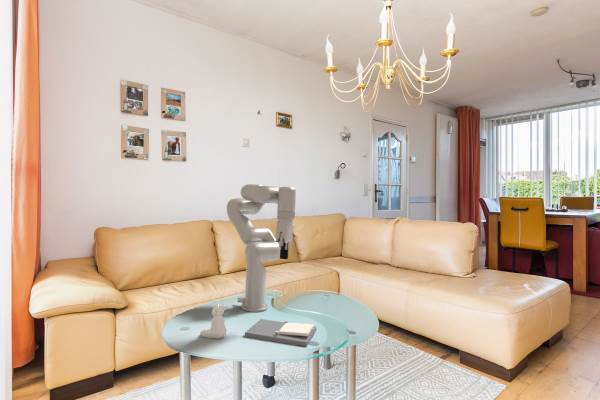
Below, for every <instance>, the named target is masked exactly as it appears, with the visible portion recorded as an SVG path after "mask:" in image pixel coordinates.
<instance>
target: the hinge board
mask: <svg viewBox="0 0 600 400" xmlns="http://www.w3.org/2000/svg"><path fill="white" fill-rule="evenodd" d="M286 323H289V320H284V321H278V320H270V319H264V318H260V319H259V320H258V321H257V322H256V323H254V324H253V325H252V326H251V327H249V328H248V329H247V330H246V331H244V337H245V338H252V339H257V340H263V341H264V340H265V341H272V342H277V343H283V344H288V345H289V344H290V345H294V346H295V345H296V346H302V347H308V345H309V344H310V342H311V341H312V339H313V337H314V335H315V334H316V332H317V326H314V327H313V329H312V330H311V332H310V334H309V335H308V336H298V335H285V334H279V331H280V330H281V329H282V328H283V327H284V325H285V324H286ZM315 331H316V332H315ZM314 333H315V334H314Z"/></svg>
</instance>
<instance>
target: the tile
mask: <svg viewBox="0 0 600 400" xmlns="http://www.w3.org/2000/svg"><path fill="white" fill-rule="evenodd" d="M313 327H315V326H314V324H313V323H302V322H301V323H300V322H288V323H286V324H285V325H284V327H283V328H282V329H281V330H280V331H279V334H285V335H298V336H308V335H309V334H310V332H311V330H312V329H313Z"/></svg>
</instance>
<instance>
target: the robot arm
mask: <svg viewBox="0 0 600 400" xmlns="http://www.w3.org/2000/svg"><path fill="white" fill-rule="evenodd" d="M296 190H297V189H296V188H295V187H292V186H274V185H273V186H271V185H264V184H253V183H249V184H244V185H243V186H242V187H241V189H240V195H241V197H242V198H241V197H237V198H231V199H230V200H228V202H227V204H226V213H227V217H228V219H229V221H230V222H231V224H232V225H233V226H234V227H235V229H236V232H237V234H238V236H239V238H240V240H241V241H242V243H243V244H244V245H245V248H244V256H245V264H246V265H245V266H246V267H245V268H246V271H245V286H244V287H245V289H244V291H245V293H244V297H241V296H238V297H237V303H242V304H241V305H240V306H241V307H240V308H241V310H243V311H245V312H251V313H258V312H264V311H266V310H267V309H269V308H268V307H269V304H267V303H266V285H267V284H266V282H267V270H266V268H265V267H266V266H264V264H263V262H274V261H277V260H278V259H280V260H288V259H289V249H290V243H291V242H292V240H293V234H294V232H293V231H294V222H293V221H294V220H295V219H296V218H295V216H296V214H295V213H296V197H297V195H296V193H297V192H296ZM265 204H274V205H275V204H277V209H276V211H277V212H276V213H277V214H276V219H277V222H276V227H275V228H276V230H275V236H274V233H273V232H272V231H271V229H270V228H268V227H266V226H255V225H254V224H253V223H252V221H251V220H250V218H249V217H247V216H246V215H257V214H259V212H260V211H261V210H262V208H263V207H264V205H265Z"/></svg>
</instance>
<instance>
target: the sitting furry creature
mask: <svg viewBox="0 0 600 400" xmlns="http://www.w3.org/2000/svg"><path fill="white" fill-rule="evenodd" d="M227 309H228V306H227V305H224V306H223V304H222V303H219V304H215V305H214V307H213V308H212V310H211V313H210V314H211V315H212V319H211V323H210V329H209V328H204V329H203V330H200V332H199V335H200V337H202V338H207V339H208V338H209V339H214V340H215V339H216V340H220V339H223V338H224V337H225V336H226V335H227V331H228V330H227V326H226V323H225V317H223V314H224V312H225V311H226V310H227Z"/></svg>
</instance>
